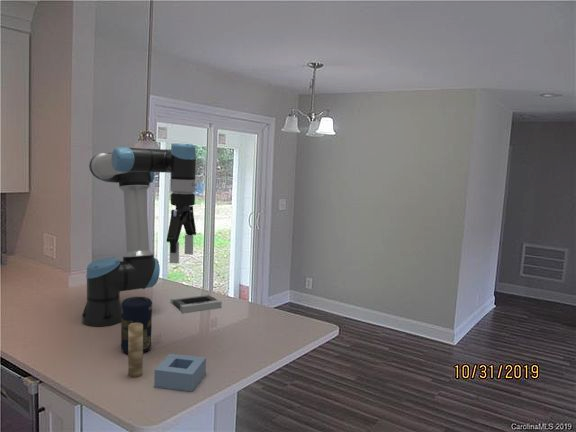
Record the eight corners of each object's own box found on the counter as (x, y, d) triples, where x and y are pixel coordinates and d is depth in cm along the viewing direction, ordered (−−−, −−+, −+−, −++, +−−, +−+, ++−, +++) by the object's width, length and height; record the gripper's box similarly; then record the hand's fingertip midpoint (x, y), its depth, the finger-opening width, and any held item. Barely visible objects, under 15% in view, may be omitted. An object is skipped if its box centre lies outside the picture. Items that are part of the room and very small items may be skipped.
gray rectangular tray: (182, 306, 186) (170, 293, 200) (182, 317, 187) (169, 303, 201) (221, 301, 196) (207, 288, 209) (220, 311, 196) (206, 298, 210)
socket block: (154, 386, 127) (154, 369, 126) (170, 369, 138) (170, 353, 137) (192, 391, 125) (192, 374, 125) (205, 373, 136) (205, 357, 135)
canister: (125, 343, 155) (125, 292, 153) (154, 343, 156) (154, 292, 153) (117, 355, 145) (117, 301, 143) (147, 355, 146) (148, 301, 144)
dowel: (125, 376, 132) (125, 326, 130) (132, 370, 136) (132, 322, 134) (138, 378, 131) (138, 328, 129) (145, 372, 135) (145, 323, 133)
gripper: (180, 196, 132) (179, 267, 134) (206, 191, 157) (204, 251, 159) (155, 194, 133) (155, 266, 135) (184, 189, 157) (183, 250, 160)
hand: (181, 258), depth 147 cm, fingers open, 13 cm apart
